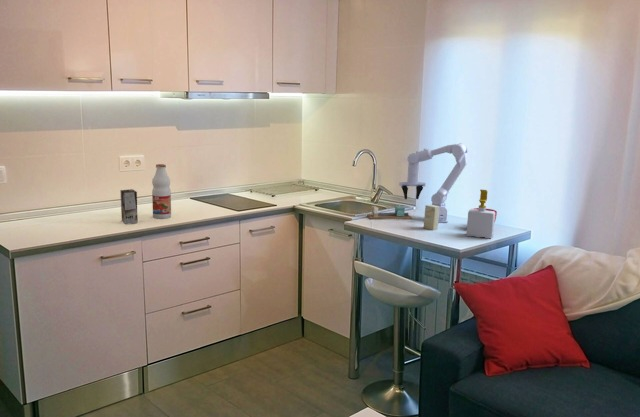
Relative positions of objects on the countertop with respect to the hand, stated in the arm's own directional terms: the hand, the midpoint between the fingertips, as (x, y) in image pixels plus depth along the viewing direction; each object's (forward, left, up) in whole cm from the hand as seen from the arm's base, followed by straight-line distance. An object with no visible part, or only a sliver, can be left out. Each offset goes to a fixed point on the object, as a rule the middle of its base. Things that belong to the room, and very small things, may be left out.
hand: (411, 199), depth 326 cm
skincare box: (-28, -2, -11) cm, 30 cm away
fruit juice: (+6, +135, -11) cm, 136 cm away
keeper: (0, +6, -9) cm, 11 cm away
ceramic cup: (-29, -29, -11) cm, 42 cm away
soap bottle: (-45, -21, -11) cm, 51 cm away
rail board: (0, +12, -10) cm, 16 cm away
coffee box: (-5, +150, -11) cm, 151 cm away
